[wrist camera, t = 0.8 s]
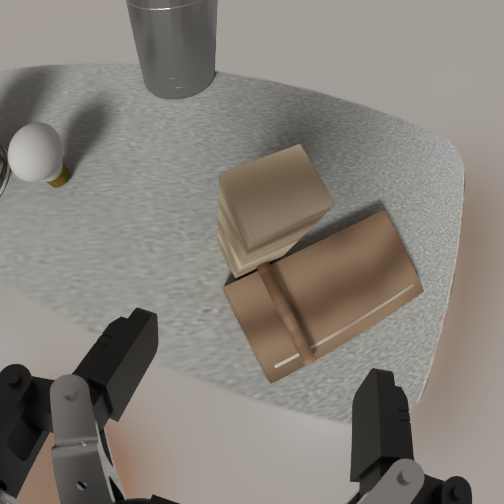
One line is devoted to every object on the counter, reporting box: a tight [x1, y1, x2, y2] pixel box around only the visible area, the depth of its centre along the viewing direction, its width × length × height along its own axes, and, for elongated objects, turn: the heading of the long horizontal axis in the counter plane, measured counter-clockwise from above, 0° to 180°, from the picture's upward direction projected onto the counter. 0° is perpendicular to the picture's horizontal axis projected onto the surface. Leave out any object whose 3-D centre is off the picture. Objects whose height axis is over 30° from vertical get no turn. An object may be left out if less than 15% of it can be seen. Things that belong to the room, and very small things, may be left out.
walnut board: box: [223, 209, 424, 383], centre depth 32 cm, size 10×19×2 cm, turn 116°
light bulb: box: [8, 122, 68, 187], centre depth 27 cm, size 6×6×10 cm
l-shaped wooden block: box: [218, 144, 335, 365], centre depth 24 cm, size 14×5×16 cm, turn 26°
